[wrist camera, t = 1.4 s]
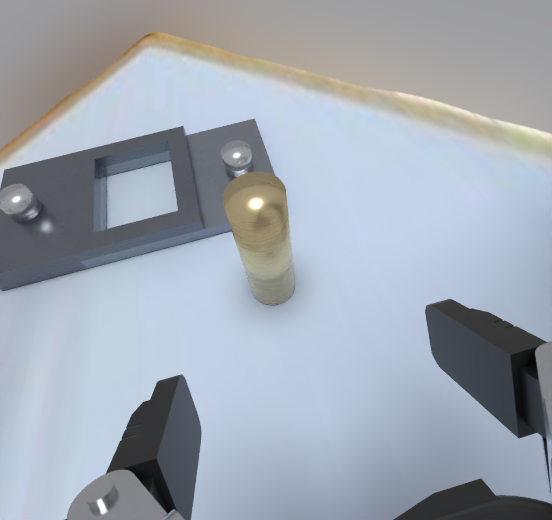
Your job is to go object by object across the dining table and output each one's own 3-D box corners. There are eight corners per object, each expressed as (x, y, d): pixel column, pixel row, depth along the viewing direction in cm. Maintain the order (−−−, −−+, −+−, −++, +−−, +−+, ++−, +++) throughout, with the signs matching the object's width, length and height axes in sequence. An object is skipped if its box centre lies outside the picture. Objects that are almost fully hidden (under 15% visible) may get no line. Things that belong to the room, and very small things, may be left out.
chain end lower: (256, 127, 40) (251, 102, 37) (287, 216, 33) (284, 192, 30) (90, 169, 39) (73, 145, 36) (87, 268, 32) (66, 249, 29)
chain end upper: (189, 144, 39) (176, 109, 36) (207, 236, 33) (193, 205, 29) (20, 186, 38) (-11, 154, 35) (3, 290, 32) (-39, 265, 28)
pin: (288, 261, 31) (276, 165, 21) (300, 298, 29) (293, 210, 19) (247, 272, 30) (217, 180, 21) (256, 310, 29) (228, 227, 19)
